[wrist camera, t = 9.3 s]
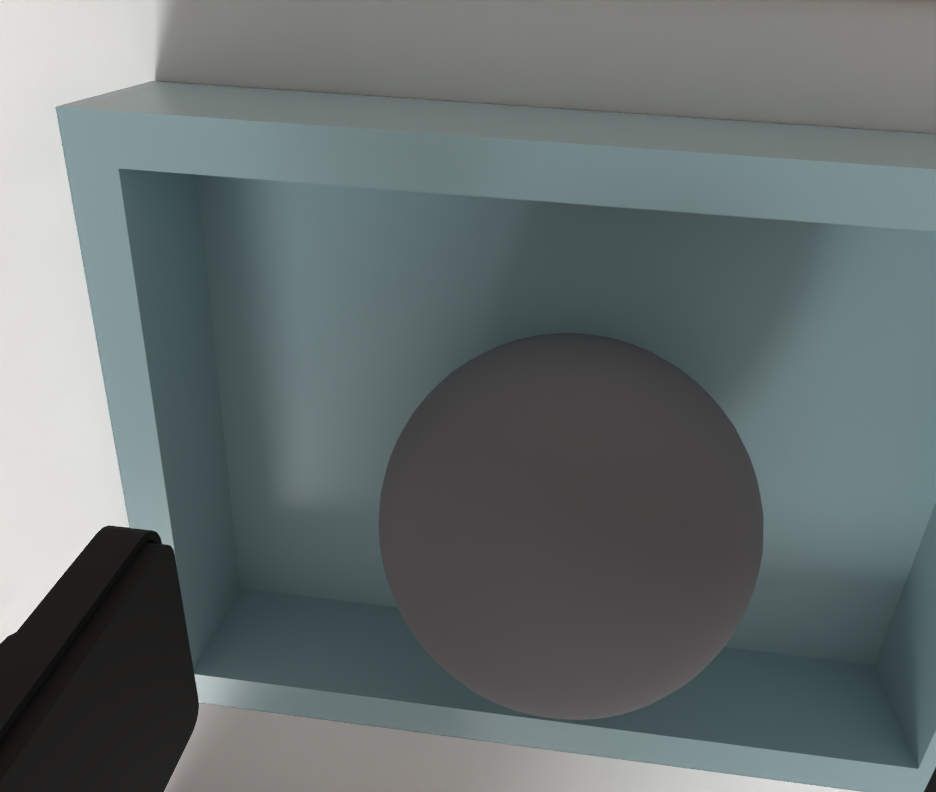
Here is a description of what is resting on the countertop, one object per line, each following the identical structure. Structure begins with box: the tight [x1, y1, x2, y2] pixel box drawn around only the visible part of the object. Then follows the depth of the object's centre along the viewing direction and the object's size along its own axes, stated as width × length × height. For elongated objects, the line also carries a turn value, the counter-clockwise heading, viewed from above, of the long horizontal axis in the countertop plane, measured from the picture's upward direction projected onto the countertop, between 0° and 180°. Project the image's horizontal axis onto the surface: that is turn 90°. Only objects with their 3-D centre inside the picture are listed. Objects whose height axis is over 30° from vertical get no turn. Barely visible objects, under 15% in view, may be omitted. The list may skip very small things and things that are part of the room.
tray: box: [56, 81, 936, 792], centre depth 14 cm, size 15×18×3 cm
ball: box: [378, 333, 764, 720], centre depth 13 cm, size 6×6×6 cm
